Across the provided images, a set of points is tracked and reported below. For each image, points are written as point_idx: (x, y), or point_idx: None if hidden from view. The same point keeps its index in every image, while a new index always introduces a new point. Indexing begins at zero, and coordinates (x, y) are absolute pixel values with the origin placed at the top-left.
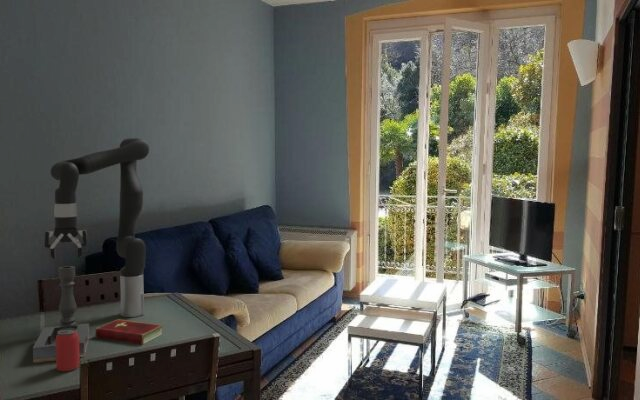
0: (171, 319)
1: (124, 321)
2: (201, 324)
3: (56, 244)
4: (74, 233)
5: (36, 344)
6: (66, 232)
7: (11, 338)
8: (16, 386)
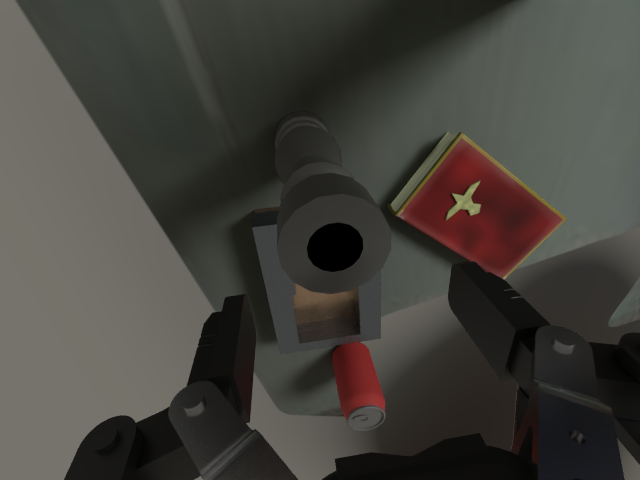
0: (620, 68)
1: (478, 163)
2: None
3: (248, 434)
4: None
5: (281, 339)
6: None
7: (142, 170)
8: (287, 398)
